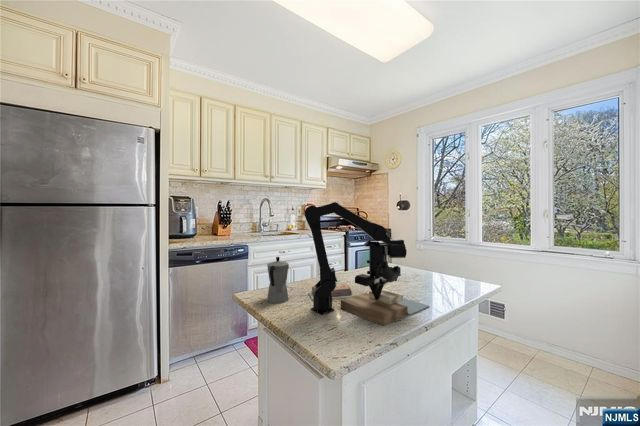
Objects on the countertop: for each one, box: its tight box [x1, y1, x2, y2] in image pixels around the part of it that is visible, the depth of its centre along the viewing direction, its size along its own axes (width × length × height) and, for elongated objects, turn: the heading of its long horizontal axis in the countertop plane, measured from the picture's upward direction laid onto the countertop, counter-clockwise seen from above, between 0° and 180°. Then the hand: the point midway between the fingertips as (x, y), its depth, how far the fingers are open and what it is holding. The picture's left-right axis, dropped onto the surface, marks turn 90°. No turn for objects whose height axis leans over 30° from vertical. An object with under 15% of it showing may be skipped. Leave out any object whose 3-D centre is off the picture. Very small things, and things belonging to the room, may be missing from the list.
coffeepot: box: [266, 256, 290, 304], centre depth 109 cm, size 15×9×18 cm, turn 172°
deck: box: [340, 292, 409, 327], centre depth 97 cm, size 14×20×3 cm
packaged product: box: [308, 283, 354, 302], centre depth 115 cm, size 18×5×10 cm
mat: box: [398, 297, 430, 317], centre depth 106 cm, size 13×22×1 cm, turn 39°
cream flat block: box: [368, 288, 404, 304], centre depth 102 cm, size 8×10×2 cm
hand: (377, 299), depth 98 cm, fingers closed
